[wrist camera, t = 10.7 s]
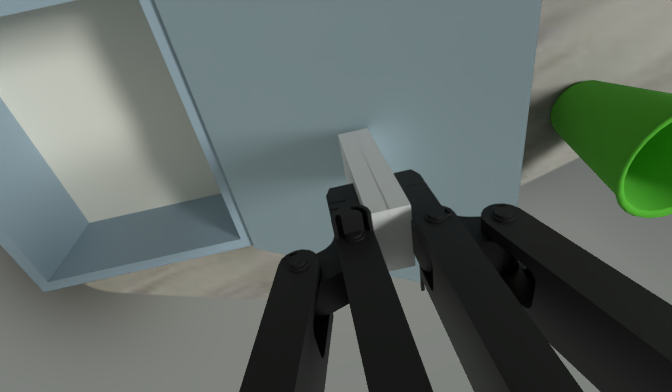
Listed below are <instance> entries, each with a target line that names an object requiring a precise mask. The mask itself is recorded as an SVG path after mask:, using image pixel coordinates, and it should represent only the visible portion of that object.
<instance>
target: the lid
mask: <svg viewBox="0 0 672 392" xmlns="http://www.w3.org/2000/svg"><path fill="white" fill-rule="evenodd" d="M154 1H155V4H156V6H157V8H158V11H159V13H160V16H161V18H162V21H163V23H164V26H165V28H166V31H167V33H168V36H169V38H170V40H171V43H172V45H173V48H174V50H175V53H176V55H177V58H178V60H179V63H180V65H181V68H182V70H183V72H184V75H185V77H186V80H187V82H188V85H189V87H190V90H191V92H192V95H193V97H194V100H195V102H196V104H197V107H198V109H199V112H200V114H201V117H202V119H203V122H204V124H205V127H206V129H207V132H208V134H209V136H210V139H211V141H212V144H213V146H214V149H215V151H216V154H217V156H218V159H219V161H220V164H221V166H222V168H223V171H224V173H225V176H226V178H227V181H228V183H229V186H230V188H231V191H232V193H233V196H234V198H235V200H236V203H237V205H238V208H239V210H240V213H241V215H242V218H243V220H244V223H245V225H246V228H247V230H248V232H249V235H250V237H251V240H252V242H253V245H254V247H255V248H256V249H261V250H266V251H270V252H275V253H280V254H285V255H287V254H289V253H291V252H293V251H296V250H301V249H305V250H310V251H313V252H315V253H318V252H320V251H322V250H324V249H326V248H327V247H328V246H329V245H330V244H331V242H332V241H333V239H334V232H333V227H332V223H331V217H330V212H329V208H328V203H327V199H326V195H327V193H328V190H329V188H333V187H338V186H342V185H347V181H346V176H345V170H344V165H343V160H342V154H341V149H340V144H339V138H338V134H343V133H347V132H352V131H357V130H361V129H365V128H368V129H369V131H370V133H371V135H372V137H373V138H374V140H375V142H376V144H377V145H378V147H379V149H380V151H381V153H382V154H383V156H384V158H385V160H386V161H387V163H388V165H389V167H390V169H391V170H392V172H393V173H396V172H401V171H405V170H409V169H412V170H413V171H415V172H417V173H419V174H420V175H421V176H422V178H423V179H424V181H425V182H426V184H427V185H428V187H429V188H430V189H431V191H432V192H433V194H434V195H435V197H436V198H437V200H438V201H439V203H440V204H441V205H442V206H446V207H448V208H451V209H452V210H453V211H454V212H455V213H456V215H458V216H466V217H477V216H481V213H482V211H483V209H484V208H486V207H487V206H489V205H492V204H501V203H505V204H510V205H514V206H516V207H517V205H518V197H519V188H520V180H521V171H522V163H523V155H524V146H525V138H526V129H527V121H528V113H529V104H530V96H531V87H532V79H533V71H534V62H535V54H536V46H537V37H538V29H539V20H540V12H541V4H542V0H154ZM415 264H416V266H411V267H407V268H403V269H399V270H394V271H390V272H389V274H390V276H393V277H398V278H403V279H407V280H412V281H418V282H420V268H419V263H418V261H417V259H416V257H415Z"/></svg>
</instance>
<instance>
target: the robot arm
mask: <svg viewBox="0 0 672 392" xmlns="http://www.w3.org/2000/svg"><path fill="white" fill-rule="evenodd" d="M338 138H339V144H340V149H341V154H342V160H343V165H344V170H345V176H346V181H347V185H342V186H338V187H333V188H329V190H328V193H327V195H326V199H327V203H328V208H329V212H330V217H331V223H332V227H333V232H334V239H333V241H332V242H331V244H330V245H329V246H328V247H327V248H326V249H324V250H322V251H320V252H318V253H315V252H313V251H310V250H305V249H301V250H296V251H293V252H291V253H289V254H287V255H286V256H285V257H284V258H282V260H281V261H280V263H279V265H278V268H277V272H276V275H275V278H274V281H273V284H272V288H271V291H270V294H269V297H268V301H267V304H266V307H265V310H264V314H263V317H262V320H261V323H260V326H259V330H258V333H257V336H256V340H255V343H254V346H253V349H252V352H251V356H250V359H249V362H248V365H247V369H246V372H245V375H244V378H243V382H242V385H241V388H240V391H239V392H324V389H325V381H326V373H327V364H328V356H329V348H330V340H331V332H332V323H333V312H335V311H337V310H338V309H340V308H342V307H344V306H346V305H347V304H350V308H351V313H352V317H353V322H354V326H355V330H356V335H357V340H358V344H359V349H360V353H361V357H362V363H363V367H364V372H365V376H366V381H367V385H368V389H369V392H433V390H432V387H431V385H430V382H429V379H428V377H427V374H426V371H425V368H424V366H423V363H422V360H421V357H420V355H419V352H418V350H417V347H416V344H415V341H414V339H413V336H412V333H411V330H410V328H409V325H408V322H407V320H406V317H405V314H404V311H403V309H402V306H401V303H400V301H399V298H398V295H397V293H396V290H395V287H394V284H393V282H392V279H391V276H390V274H389V272H390V271H394V270H399V269H403V268H407V267H411V266H416V264H415V257H416V259H417V261H418V263H419V268H420V282H421V290H422V291H424V290H425V287H424V284H425V286H426V289H427V291H428V293H429V295H430V297H431V299H432V302H433V304H434V306H435V308H436V310H437V312H438V315H439V317H440V319H441V321H442V323H443V325H444V328H445V329H446V332H447V334H448V336H449V338H450V340H451V342H452V345H453V347H454V349H455V351H456V353H457V355H458V357H459V360H460V362H461V364H462V366H463V369H464V371H465V373H466V375H467V377H468V379H469V381H470V384H471V386H472V388H473V390H474V392H583V390H582V389H581V388H580V386H579V385H578V383H577V382H576V381H575V379H574V378H573V376H572V375H571V374H570V372H569V371H568V369H567V368H566V367H565V365H564V364H563V362H562V361H561V360H560V358H559V357H558V355H557V354H556V353H555V351H554V350H553V348H552V347H551V346H550V344H551V345H552V346H553V347H554V348H555V349H556V350H557V351H558V352H559V353H560V354H561V355H562V356H563V357H564V358H566V359H567V360H568V361H569V362H570V363H571V364H572V365H573V366H574V367H575V368H576V369H577V370H578V371H579V372H580V373H581V374H582V375H584V376H585V377H586V378H587V379H588V380H589V381H590V382H591V383H592V384H593V385H594V386H595V387H596V388H597V389H598V390H599V391H600V392H672V305H670V304H669V303H667V302H665V301H664V300H663V299H661V298H659V297H658V296H656V295H655V294H653V293H651V292H650V291H649V290H647V289H645V288H643V287H642V286H641V285H639V284H638V283H636V282H634V281H633V280H631V279H630V278H628V277H627V276H625V275H623V274H622V273H620V272H619V271H617V270H616V269H614V268H612V267H611V266H609V265H608V264H606V263H604V262H603V261H601V260H600V259H598V258H597V257H595V256H594V255H592V254H591V253H589V252H587V251H586V250H584V249H582V248H581V247H579V246H578V245H576V244H575V243H573V242H572V241H570V240H569V239H567V238H565V237H564V236H562V235H561V234H559V233H558V232H556V231H554V230H553V229H551V228H550V227H548V226H547V225H545V224H543V223H542V222H540V221H539V220H537V219H536V218H534V217H533V216H531V215H529V214H528V213H526V212H525V211H523V210H522V209H520V208H518V207H516V206H514V205H510V204H505V203H501V204H492V205H489V206H487V207H486V208H484V209H483V211H482V213H481V216H477V217H466V216H458V215H456V213H455V212H454V211H453V210H452V209H451V208H448V207H446V206H442V205H441V204H440V203H439V201H438V200H437V198H436V197H435V195H434V194H433V192H432V191H431V189H430V188H429V187H428V185H427V184H426V182H425V181H424V179H423V178H422V176H421V175H420V174H419V173H417V172H415V171H413V170H412V169H409V170H405V171H401V172H396V173H393V172H392V170H391V169H390V167H389V165H388V163H387V161H386V160H385V158H384V156H383V154H382V153H381V151H380V149H379V147H378V145H377V144H376V142H375V140H374V138H373V137H372V135H371V133H370V131H369V129H368V128H365V129H361V130H357V131H352V132H347V133H343V134H338ZM549 343H550V344H549Z"/></svg>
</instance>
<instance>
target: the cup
mask: <svg viewBox="0 0 672 392" xmlns="http://www.w3.org/2000/svg"><path fill="white" fill-rule="evenodd" d="M551 122H552V125H553V128H554V130H555V131H556V132H557V133H558V134H559V135H560V136H561V137H562V139H563V140H564V141H565V142H566V143H567V144H568V145H569V146H570V147H571V148H572V149H573V150H574V151H575V152H576V153H577V154H578V155H579V156H580V158H581V159H582V160H583V161H584V162H585V163H586V164H587V165H588V166H589V167H590V168H591V169H592V170H593V171H594V172H595V173H596V174H597V175H598V176H599V178H600V179H601V180H602V181H603V182H604V183H605V184H606V185H607V186H608V187H609V188H610V189H611V190H612V191H613V192H614V193H615V195H616V198H617V202H618V204H619V205H620V207H621V208H622V209H623V210H624V211H625V212H627V213H629V214H631V215H633V216H639V217H646V218H653V217H662V216H666V215H669V214H672V94H671V93H665V92H660V91H654V90H648V89H642V88H636V87H630V86H624V85H619V84H613V83H607V82H601V81H595V80H591V81H584V82H580V83H576V84H574V85H573V86H571V87H569V88H568V89H566V90H565V91H564V92H563V93H562V94H561V95H560V96H559V97H558V99H557V100H556V102H555V103H554V106H553V108H552V112H551Z"/></svg>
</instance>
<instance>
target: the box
mask: <svg viewBox="0 0 672 392" xmlns="http://www.w3.org/2000/svg"><path fill="white" fill-rule="evenodd" d="M0 245H1V246H2V247H3V248H4V249H5V250H6V251H7V253H8V254H9V255H10V256H11V257H12V258H13V259H14V260H15V261H16V262H17V264H18V265H19V266H20V267H21V268H22V269H23V270H24V271H25V272H26V273H27V274H28V275H29V277H30V278H31V279H32V280H33V281H34V282H35V283H36V284H37V285H38V286H39V287H40V288H41V290H43V292H46V291H50V290H55V289H59V288H64V287H68V286H73V285H77V284H82V283H86V282H91V281H95V280H99V279H104V278H108V277H113V276H117V275H122V274H126V273H131V272H135V271H140V270H144V269H149V268H153V267H157V266H162V265H166V264H171V263H175V262H180V261H184V260H189V259H193V258H198V257H202V256H207V255H211V254H215V253H220V252H224V251H229V250H233V249H238V248H242V247H247V246H251V245H253V242H252V240H251V237H250V235H249V232H248V230H247V228H246V225H245V223H244V220H243V218H242V215H241V213H240V210H239V208H238V205H237V203H236V200H235V198H234V196H233V193H232V191H231V188H230V186H229V183H228V181H227V178H226V176H225V173H224V171H223V168H222V166H221V164H220V161H219V159H218V156H217V154H216V151H215V149H214V146H213V144H212V141H211V139H210V136H209V134H208V132H207V129H206V127H205V124H204V122H203V119H202V117H201V114H200V112H199V109H198V107H197V104H196V102H195V100H194V97H193V95H192V92H191V90H190V87H189V85H188V82H187V80H186V77H185V75H184V72H183V70H182V68H181V65H180V63H179V60H178V58H177V55H176V53H175V50H174V48H173V45H172V43H171V40H170V38H169V36H168V33H167V31H166V28H165V26H164V23H163V21H162V18H161V16H160V13H159V11H158V8H157V6H156V4H155V1H154V0H0Z"/></svg>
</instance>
